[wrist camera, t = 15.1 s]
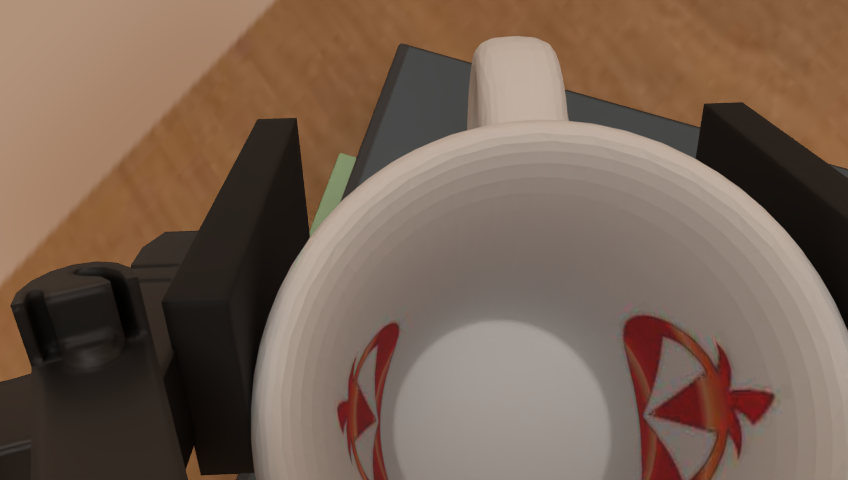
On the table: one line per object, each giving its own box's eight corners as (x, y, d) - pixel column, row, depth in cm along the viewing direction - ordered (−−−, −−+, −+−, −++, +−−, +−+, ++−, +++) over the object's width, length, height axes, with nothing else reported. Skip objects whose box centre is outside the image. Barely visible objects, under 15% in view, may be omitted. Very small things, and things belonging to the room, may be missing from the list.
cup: (329, 160, 19) (267, -52, 11) (637, 155, 19) (786, -58, 11) (319, 626, 16) (225, 779, 8) (691, 617, 16) (952, 758, 8)
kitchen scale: (227, 497, 19) (191, 503, 16) (383, 81, 23) (378, 23, 20) (733, 671, 18) (798, 713, 15) (813, 205, 22) (876, 162, 19)
